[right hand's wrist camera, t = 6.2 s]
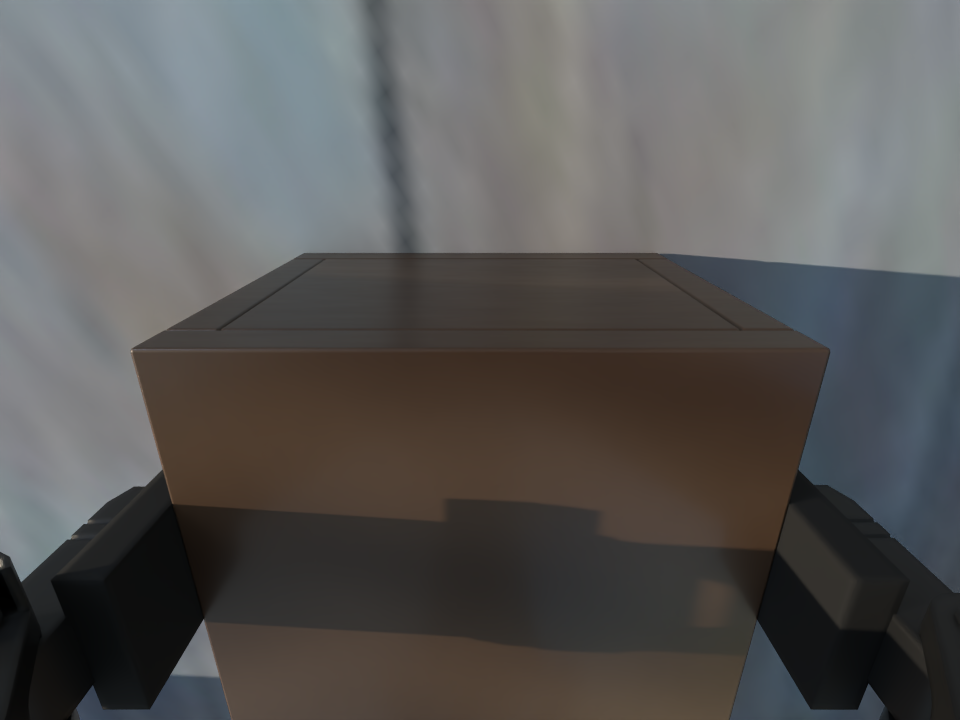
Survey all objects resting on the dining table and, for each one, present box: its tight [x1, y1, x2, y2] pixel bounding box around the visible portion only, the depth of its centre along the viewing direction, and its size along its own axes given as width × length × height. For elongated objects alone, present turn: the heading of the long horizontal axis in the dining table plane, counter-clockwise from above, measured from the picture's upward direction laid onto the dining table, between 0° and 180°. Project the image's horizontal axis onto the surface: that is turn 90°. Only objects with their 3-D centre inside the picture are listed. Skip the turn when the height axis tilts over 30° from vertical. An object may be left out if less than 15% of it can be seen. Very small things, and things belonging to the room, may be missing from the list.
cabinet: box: [131, 253, 830, 720], centre depth 16 cm, size 22×11×8 cm, turn 0°
